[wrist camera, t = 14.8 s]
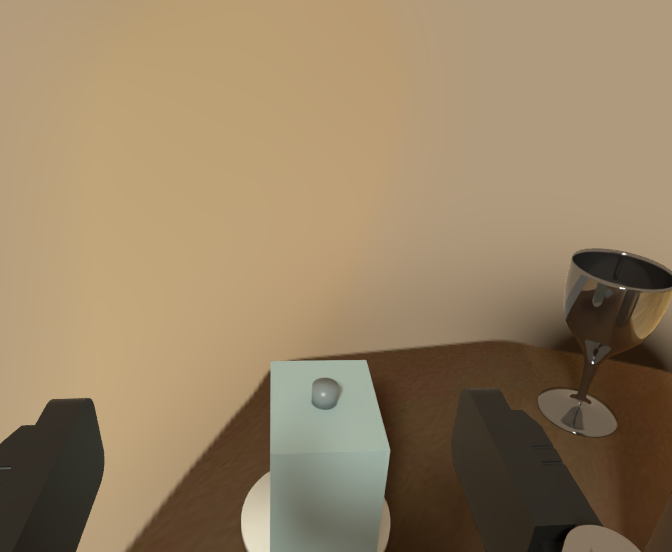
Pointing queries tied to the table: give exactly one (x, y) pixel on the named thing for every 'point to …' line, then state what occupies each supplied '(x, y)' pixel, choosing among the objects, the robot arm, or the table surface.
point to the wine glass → (605, 328)
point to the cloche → (325, 457)
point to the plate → (258, 519)
